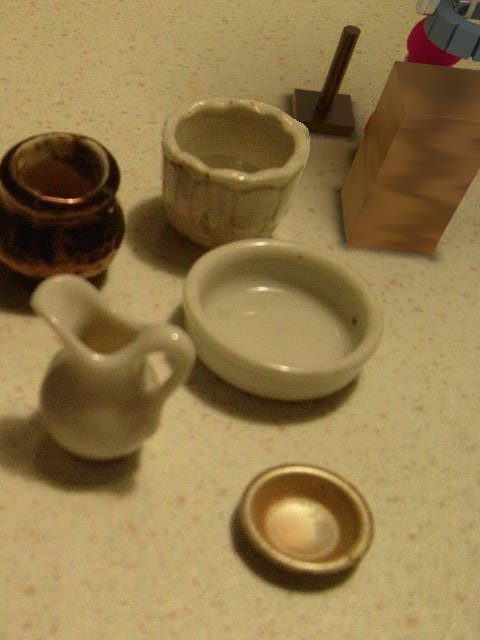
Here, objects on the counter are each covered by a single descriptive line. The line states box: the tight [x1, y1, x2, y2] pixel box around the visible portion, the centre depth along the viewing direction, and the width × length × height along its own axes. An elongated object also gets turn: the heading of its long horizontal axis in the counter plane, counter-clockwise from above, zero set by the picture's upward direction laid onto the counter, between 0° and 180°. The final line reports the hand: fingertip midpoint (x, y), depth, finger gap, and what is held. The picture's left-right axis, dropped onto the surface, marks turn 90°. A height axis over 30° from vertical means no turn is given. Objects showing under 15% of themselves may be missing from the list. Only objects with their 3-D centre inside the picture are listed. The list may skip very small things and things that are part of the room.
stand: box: [291, 24, 362, 138], centre depth 104 cm, size 7×7×12 cm
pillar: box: [340, 60, 480, 256], centre depth 89 cm, size 9×9×17 cm
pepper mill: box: [363, 16, 463, 136], centre depth 95 cm, size 7×7×20 cm
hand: (441, 13), depth 77 cm, fingers closed
